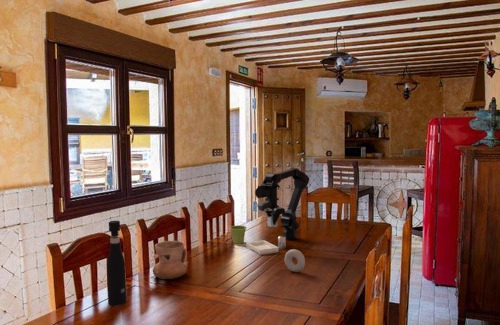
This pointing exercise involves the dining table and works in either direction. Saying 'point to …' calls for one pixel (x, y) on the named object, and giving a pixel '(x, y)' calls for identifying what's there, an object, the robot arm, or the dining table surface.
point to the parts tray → (262, 247)
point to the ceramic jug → (170, 260)
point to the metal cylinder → (281, 242)
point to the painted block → (270, 222)
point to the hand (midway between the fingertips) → (272, 224)
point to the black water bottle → (116, 268)
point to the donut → (300, 260)
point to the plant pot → (238, 234)
